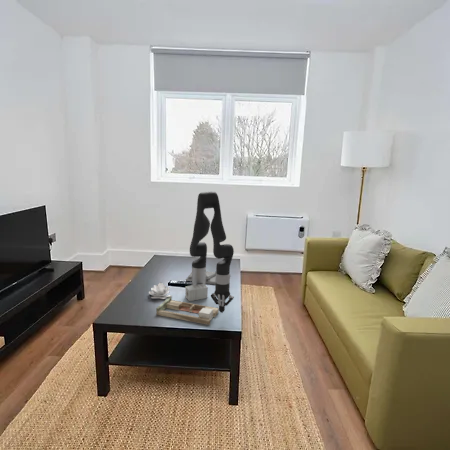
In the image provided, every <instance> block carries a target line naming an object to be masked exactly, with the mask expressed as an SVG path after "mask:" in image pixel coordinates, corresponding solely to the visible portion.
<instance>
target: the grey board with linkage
mask: <svg viewBox="0 0 450 450" xmlns="http://www.w3.org/2000/svg"><path fill="white" fill-rule="evenodd" d="M215 279H216V271H206V285H214V286H215V282H216V281H215ZM185 280H186V281H192V271H191V272H190V274H189V275H188V276H187V277H186V279H185ZM186 281H185V282H186Z"/></svg>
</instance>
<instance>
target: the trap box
mask: <svg viewBox="0 0 450 450" xmlns="http://www.w3.org/2000/svg"><path fill="white" fill-rule="evenodd" d="M202 308H208V309H213V318H215V317H216V316H217V315H218V314H219V313H220V311H219V307H214V306H208V305H202V304H197V303H191V302H185V301H180V300H173V298H172V296H170V297H167V298H166V299H164V301H163V302H162V303H161V304H159V305H158V306H157V307H156V308H155V309H156V312H155V314H156V315H157V316H161V317H167V318H172V319H177V320H183V321H187V322H193V323H198V324H201V325H209V326H210V325H211V321H210V319H206V318H201V317H199V316H195V315H189V314H184V313H179V312H174V311H168V310H167V309H171V310H176V311H184V312H188V313H194V314H198V315H199V311H200V310H201V309H202Z"/></svg>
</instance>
